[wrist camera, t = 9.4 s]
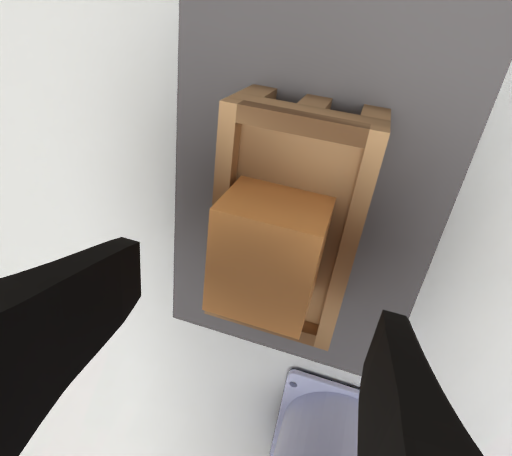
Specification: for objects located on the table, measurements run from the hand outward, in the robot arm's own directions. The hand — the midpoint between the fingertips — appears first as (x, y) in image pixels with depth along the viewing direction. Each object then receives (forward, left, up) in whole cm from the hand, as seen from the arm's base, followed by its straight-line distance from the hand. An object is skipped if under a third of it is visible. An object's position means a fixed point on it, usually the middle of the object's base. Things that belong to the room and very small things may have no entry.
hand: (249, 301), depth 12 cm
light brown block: (0, 0, -4) cm, 4 cm away
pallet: (0, 0, -7) cm, 7 cm away
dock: (0, 0, -10) cm, 10 cm away
